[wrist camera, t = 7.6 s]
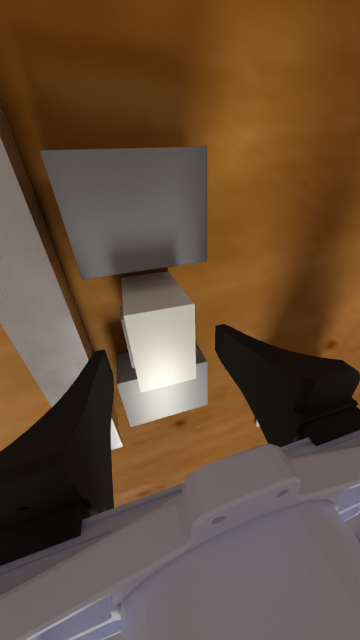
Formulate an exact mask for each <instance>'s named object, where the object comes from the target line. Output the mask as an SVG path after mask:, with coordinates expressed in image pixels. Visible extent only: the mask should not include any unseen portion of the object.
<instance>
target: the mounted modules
mask: <svg viewBox="0 0 360 640" xmlns="http://www.w3.org/2000/svg"><path fill="white" fill-rule="evenodd" d="M40 153H41V156H42V159H43V162H44V165H45V168H46V171H47V174H48V177H49V180H50V183H51V186H52V189H53V192H54V195H55V198H56V201H57V204H58V207H59V210H60V213H61V217H62V220H63V223H64V226H65V229H66V232H67V235H68V238H69V241H70V244H71V247H72V250H73V253H74V256H75V259H76V262H77V265H78V268H79V271H80V274H81V277H82V279H89V278H96V277H102V276H109V275H116V274H123V273H130V272H137V271H144V270H151V269H157V268H164V267H171V266H178V265H185V264H192V263H199V262H206V261H207V146H199V147H159V148H118V149H78V150H40ZM195 347H196V379H193V380H189V381H185V382H181V383H177V384H173V385H169V386H165V387H161V388H157V389H153V390H149V391H146V392H142V393H141V392H140V387H139V383H138V378H137V374H136V369H135V368H132V365H131V360H130V356H129V352H126V353H121V354H117V386H118V389H119V392H120V396H121V399H122V402H123V405H124V408H125V411H126V414H127V417H128V420H129V423H130V426H131V427H133V426H137V425H140V424H143V423H147V422H150V421H153V420H157V419H160V418H164V417H167V416H170V415H174V414H177V413H180V412H184V411H187V410H191V409H194V408H197V407H201V406H204V405H207V360H206V359H205V357H204V355H203V354H202V352H201V350H200V349H199V347H198V345H197V343H196V342H195Z"/></svg>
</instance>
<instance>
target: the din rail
mask: <svg viewBox="0 0 360 640" xmlns="http://www.w3.org/2000/svg"><path fill="white" fill-rule="evenodd" d="M0 324H1V325H2V327H3V328H4V330H5V332H6V333H7V335H8V337H9V338H10V340H11V341H12V343H13V345H14V346H15V348H16V350H17V351H18V353H19V354H20V356H21V358H22V359H23V361H24V363H25V364H26V366H27V367H28V369H29V371H30V372H31V374H32V376H33V377H34V379H35V380H36V382H37V384H38V385H39V387H40V389H41V390H42V392H43V394H44V395H45V397H46V398H47V400H48V402H49V403H50V405H51V407H53V406H54V405H55V404H56V403H57V402H58V400H59V399H60V398H61V397H62V396H63V395H64V394H65V393H66V391H67V390H68V389H69V388H70V386H71V385H72V384H73V382H74V381H75V380H76V378H77V377H78V375H79V374H80V373H81V371H82V370H83V368H84V367H85V365H86V364H87V362H88V360H89V359H90V357H91V356H92V354H93V350H92V347H91V345H90V342H89V339H88V337H87V334H86V331H85V329H84V326H83V323H82V321H81V318H80V315H79V312H78V310H77V307H76V304H75V302H74V299H73V296H72V294H71V291H70V288H69V286H68V283H67V280H66V278H65V275H64V272H63V269H62V267H61V264H60V261H59V259H58V256H57V253H56V251H55V248H54V245H53V243H52V240H51V237H50V234H49V232H48V229H47V226H46V224H45V221H44V218H43V216H42V213H41V210H40V208H39V205H38V202H37V199H36V197H35V194H34V191H33V189H32V186H31V183H30V181H29V178H28V175H27V173H26V170H25V167H24V164H23V162H22V159H21V156H20V154H19V151H18V148H17V146H16V143H15V140H14V138H13V135H12V132H11V130H10V127H9V124H8V121H7V119H6V116H5V113H4V111H3V108H2V105H1V103H0ZM122 446H123V441H122V438H121V436H120V433H119V431H118V417H117V415H116V412H115V409H114V407H113V405H112V417H111V450H113V449H116V448H119V447H122Z"/></svg>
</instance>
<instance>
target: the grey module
mask: <svg viewBox="0 0 360 640" xmlns="http://www.w3.org/2000/svg"><path fill="white" fill-rule="evenodd" d="M121 284H122V300H123V306H121V322H122V326H123V330H124V335H125V339H126V343H127V348H128V352H129V356H130V360H131V365H132V368H135V369H136V374H137V378H138V383H139V387H140V392H141V393H142V392H146V391H149V390H153V389H157V388H161V387H165V386H169V385H173V384H177V383H181V382H185V381H189V380H193V379H196V347H195V304H194V302H193V301H192V300H191V299H190V297H189V296H188V295H187V294H186V293H185V291H184V290H183V289H182V288H181V286H180V285H179V284H178V283H177V282H176V280H175V279H174V278H173V277H172V275H171V274H170V273H169V272H160V273H153V274H145V275H138V276H130V277H123V278H121Z"/></svg>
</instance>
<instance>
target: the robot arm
mask: <svg viewBox="0 0 360 640" xmlns="http://www.w3.org/2000/svg"><path fill="white" fill-rule="evenodd" d="M215 351H216V353H217V355H218V357H219V359H220V361H221V362H222V364H223V365H224V367H225V368H226V370H227V371H228V373H229V374H230V376H231V377H232V378H233V380H234V381H235V383H236V384H237V386H238V387H239V388H240V390H241V392H242V393H243V395H244V397H245V399H246V400H247V402H248V404H249V406H250V408H251V410H252V412H253V413H254V415H255V417H256V421H255V425H256V426H257V427H258V426H260V427H261V429H262V431H263V434H264V436H265V438H266V440H267V442H268V444H265V445H260V446H257V447H254V448H251V449H249V450H246V451H243V452H240V453H237V454H235V455H232V456H229V457H226V458H223V459H220V460H218V461H215V462H212V463H209V464H206V465H204V466H202V467H200V468H198V469H196V470H194V471H193V472H192V473H191V474H190V475H189V476H188V477H186V479H185V481H184V483H182V484H179V485H176V486H173V487H171V488H168V489H165V490H162V491H160V492H157V493H154V494H151V495H149V496H146V497H143V498H141V499H138V500H135V501H132V502H130V503H127V504H124V505H121V506H119V507H116V508H114V501H113V485H112V463H111V417H112V405H113V393H114V383H113V373H112V370H111V367H110V364H109V361H108V358H107V354H106V351H105V350H100V351H95V352H94V353H93V354H92V356H91V357H90V359H89V360H88V362H87V364H86V365H85V367H84V368H83V370H82V371H81V373H80V374H79V375H78V377H77V378H76V380H75V381H74V382H73V384H72V385H71V386H70V388H69V389H68V390H67V391H66V393H65V394H64V395H63V396H62V397H61V398H60V399H59V400H58V402H57V403H56V404H55V405H54V406H53V407H52V408H51V409H50V410H49V411H48V412H47V413H46V414H45V415H44V416H43V417H41V418H40V419H39V420H38V421H37V422H36V423H35V424H34V425H33V426H32V427H31V428H29V429H28V430H27V431H26V432H25V433H23V434H22V435H21V436H20V437H19V438H17V439H16V440H15V441H14V442H12V443H11V444H10V445H9V446H7V447H6V448H5V449H3V450H2V451H1V452H0V640H103V639H105V638H108V637H110V636H113V635H115V634H117V633H120V632H121V640H360V409H358V408H357V407H356V406H357V405H358V403H357V402H356V401H355V400H354V399H353V398H352V395H353V393H354V391H355V389H356V388H357V386H358V383H359V381H360V374H359V371H357V370H356V369H354V368H353V367H351V366H350V365H348V364H347V363H346V362H344V361H342V360H336V359H328V358H321V357H315V356H310V355H305V354H300V353H296V352H292V351H288V350H285V349H281V348H278V347H275V346H272V345H269V344H267V343H264V342H262V341H259V340H257V339H255V338H252V337H250V336H248V335H246V334H244V333H242V332H240V331H238V330H236V329H234V328H232V327H230V326H227V325H225V324H222V325H217V326H216V331H215Z"/></svg>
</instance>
